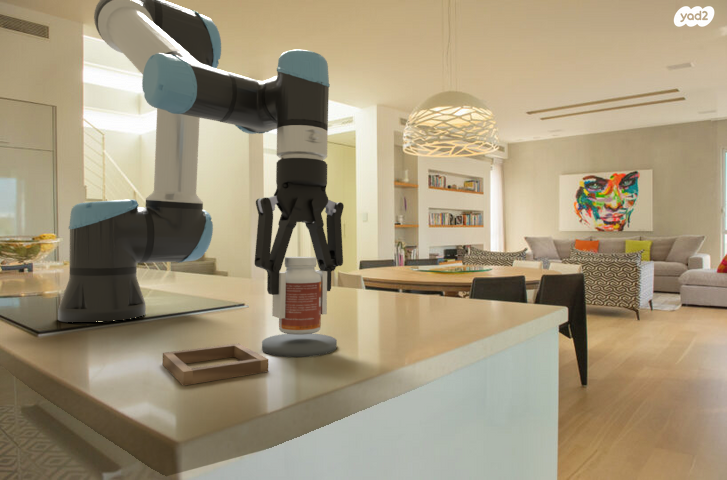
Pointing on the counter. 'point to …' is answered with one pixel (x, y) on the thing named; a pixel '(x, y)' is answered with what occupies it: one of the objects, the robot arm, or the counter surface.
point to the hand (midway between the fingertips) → (299, 314)
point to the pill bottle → (301, 297)
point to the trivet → (299, 345)
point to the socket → (187, 376)
